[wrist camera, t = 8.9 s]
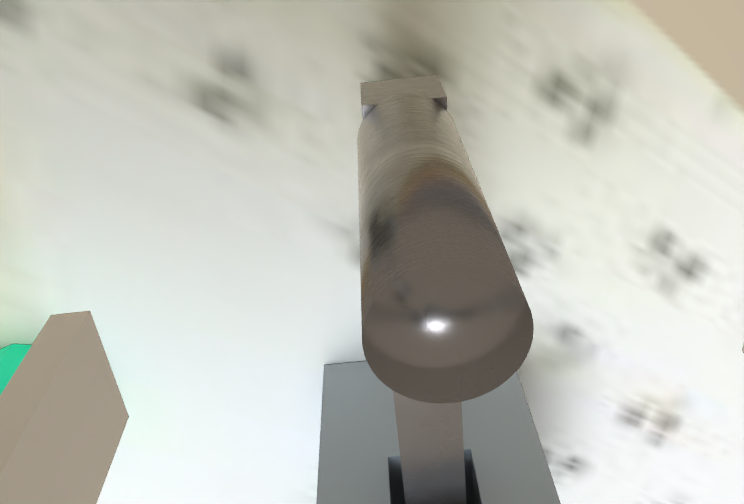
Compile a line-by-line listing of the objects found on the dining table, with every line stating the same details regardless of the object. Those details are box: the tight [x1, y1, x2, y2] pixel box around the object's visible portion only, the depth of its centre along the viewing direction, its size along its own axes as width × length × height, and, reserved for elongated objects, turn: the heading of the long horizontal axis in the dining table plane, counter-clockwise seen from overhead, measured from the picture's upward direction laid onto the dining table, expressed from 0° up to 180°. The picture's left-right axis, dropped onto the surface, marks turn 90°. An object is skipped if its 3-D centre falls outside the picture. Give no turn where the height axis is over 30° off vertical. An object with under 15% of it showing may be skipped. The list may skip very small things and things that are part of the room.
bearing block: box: [317, 361, 561, 504], centre depth 41 cm, size 10×12×15 cm
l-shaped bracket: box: [358, 75, 533, 504], centre depth 28 cm, size 30×4×15 cm, turn 6°
